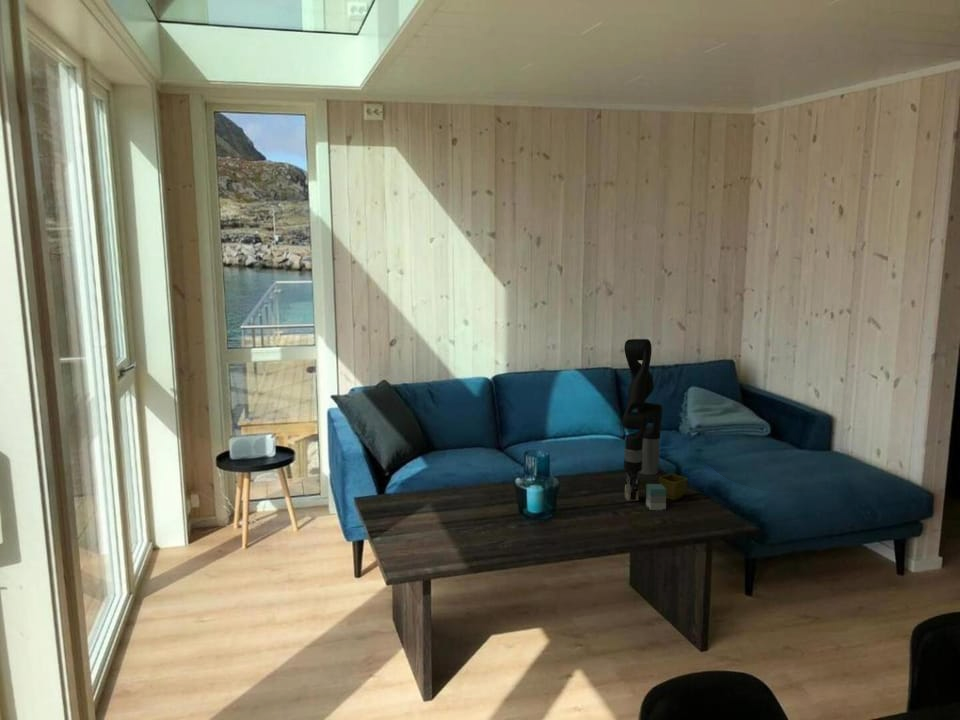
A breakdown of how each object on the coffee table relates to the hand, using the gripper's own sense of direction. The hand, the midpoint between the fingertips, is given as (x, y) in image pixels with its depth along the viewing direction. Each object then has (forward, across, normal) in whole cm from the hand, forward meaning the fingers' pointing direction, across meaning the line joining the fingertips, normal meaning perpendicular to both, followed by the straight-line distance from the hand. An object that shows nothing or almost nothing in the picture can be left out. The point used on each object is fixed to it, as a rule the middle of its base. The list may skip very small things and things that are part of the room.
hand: (631, 497), depth 325 cm
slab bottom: (+1, +9, +8) cm, 12 cm away
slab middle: (-2, +9, +8) cm, 12 cm away
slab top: (-5, +9, +8) cm, 13 cm away
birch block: (+1, 0, 0) cm, 1 cm away
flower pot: (+1, -1, +18) cm, 18 cm away
